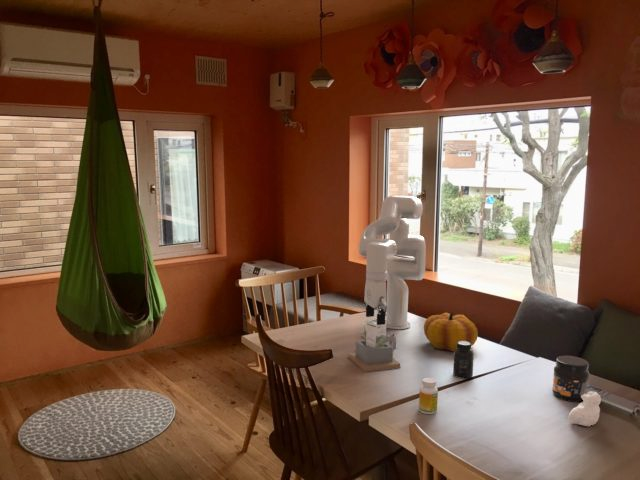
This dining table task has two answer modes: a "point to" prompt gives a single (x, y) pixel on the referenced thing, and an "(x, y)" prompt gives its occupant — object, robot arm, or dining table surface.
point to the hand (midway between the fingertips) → (375, 320)
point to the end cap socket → (374, 357)
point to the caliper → (388, 340)
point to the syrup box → (374, 334)
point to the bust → (586, 410)
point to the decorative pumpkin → (449, 330)
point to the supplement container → (570, 378)
